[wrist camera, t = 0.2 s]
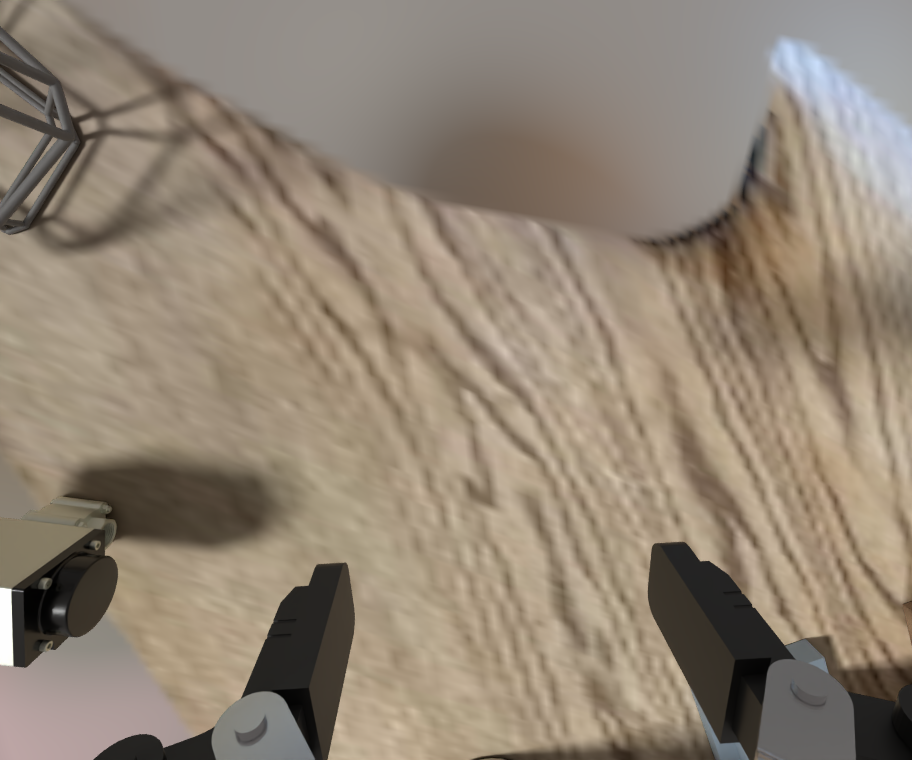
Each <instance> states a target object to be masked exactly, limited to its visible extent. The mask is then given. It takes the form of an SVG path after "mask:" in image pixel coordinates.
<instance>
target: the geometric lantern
mask: <svg viewBox="0 0 912 760" xmlns="http://www.w3.org/2000/svg"><path fill="white" fill-rule="evenodd" d="M0 41H2V42H3V43H4V44H5V45H6V46H7V47H8V48H9V49H10V50H11V51H13V52H14V53H15V54H16V55H17V56H18V57H19V58H20V59H21V60H22V61H24V62H25V63H24V62H22V61H20V60H18V59H16V58H13V57H11V56H9V55H7V54H5V53H3V52H1V51H0V64H1V65H3V66H6V67H8V68H10V69H12V70H15V71H17V72H19V73H22V74H24V75H26V76H28V77H31V78H33V79H35V80H37V81H40V82H42V83H44V84H46V85H49V91H48V96H47V100H46V101H44V100H43V99H42V98H40V97H39V96H38V95H36V94H35V93H34V92H32V91H31V90H30V89H28V88H27V87H26V86H25V85H23V84H22V83H21V82H19V81H18V80H17V79H15V78H14V77H13V76H11V75H10V74H9V73H7V72H6V71H5V70H4V69H2V68H1V67H0V82H1V83H3V84H4V85H5V86H7V87H8V88H9V89H11V90H12V91H13V92H15V93H16V94H17V95H19V96H20V97H21V98H23V99H24V100H25V101H27V102H28V103H29V104H31V105H32V106H33V107H35V108H36V109H37V110H39V111H40V112H41V113H43V114H44V115H45V117H46V121H47V123H45V122H43V121H41V120H38V119H36V118H33V117H31V116H29V115H26V114H24V113H21V112H19V111H17V110H14V109H12V108H9V107H7V106H5V105H2V104H0V116H1V117H4V118H6V119H9V120H11V121H14V122H16V123H19V124H22V125H24V126H27V127H29V128H32V129H34V130H37V131H40V132H42V133H45V134H44V136H43V137H42V139H41V141H40V142H39V144H38V145H37V147H36V148H35V150H34V151H33V153H32V155H31V156H30V158H29V159H28V161H27V162H26V164H25V165H24V167H23V169H22V170H21V172H20V173H19V175H18V176H17V178H16V179H15V181H14V182H13V184H12V186H11V187H10V189H9V190H8V192H7V193H6V195H5V196H4V198H3V200H2V201H1V203H0V231H2V232H4V233H6V234H8V235H11V234H14V233H16V232H19V231H22V230H25V229H28V228H29V227H30V224H31V223H32V221H33V219H34V218H35V216H36V214H37V213H38V211H39V210H40V208H41V206H42V205H43V203H44V202H45V200H46V198H47V197H48V195H49V194H50V192H51V190H52V189H53V187H54V185H55V184H56V182H57V181H58V179H59V177H60V176H61V174H62V173H63V171H64V169H65V168H66V166H67V164H68V163H69V161H70V160H71V158H72V156H73V155H74V153H75V152H76V150H77V148H78V147H79V144H80V143H81V142H80V139H79V137H78V135H77V133H76V131H75V129H74V127H73V123H72V120H71V116H70V113H69V109H68V106H67V102H66V98H65V95H64V92H63V89H62V86H61V83H60V81H59V80H58V79H57V78H56V77H55V76H54V75H53V74H52V73H51V72H50V71H49V70H47V69H46V68H45V67H44V66H43V65H42V64H41V63H40V62H39V61H38V60H36V59H35V58H34V57H33V56H32V55H31V54H30V53H29V52H28V51H27V50H26V49H24V48H23V47H22V46H21V45H20V44H19V43H18V42H17V41H16V40H15V39H13V38H12V37H11V36H10V35H9V34H8V33H7V32H6V31H5V30H4V29H3V28H1V27H0ZM54 104H55V106H56V109H57V110H56V109H55V108H54ZM54 118H55V119H57V120H60V123H61V127H62V129H60V128H57V127H56V125H55V121H54ZM53 137H55V138H57V139H58V140H57V141H56V142H55V143H54V144H53V146H52V147H51V148H50V149H49V150H48V152H47V153H46V154H45V155H44V157H43V158H42V159H41V160H40V161H39V163H38V164H37V165H36V166H35V167H34V165H35V164H36V162H37V161H38V159H39V158H40V156H41V155H42V153H43V151H44V150H45V148H46V147H47V145H48V144H49V142H50V141H51V139H52V138H53ZM68 147H69V148H68ZM67 148H68V149H67ZM66 149H67V151H66ZM65 151H66V153H65V154H64V156H63V157H62V159H61V161H60V162H59V164H58V166H57V167H56V169H55V170H54V172H53V174H52V175H51V177H50V179H49V180H48V182H47V183H46V185H45V187H44V188H43V190H42V192H41V193H40V195H39V196H38V198H37V200H36V201H35V203H34V205H33V206H32V208H31V209H30V211H29V213H28V214H27V216H26V218H25V219H24V221H23V222H22V221H18V220H11V219H9V218H10V217H11V216H12V215H13V213H14V212H15V211H16V210H17V209H18V207H19V206H20V205H21V204H22V203H23V201H24V200H25V199H26V198H27V197H28V195H29V194H30V193H31V192H32V190H33V189H34V188H35V187H36V186H37V184H38V183H39V182H40V181H41V180H42V178H43V177H44V176H45V175H46V174H47V172H48V171H49V170H50V169H51V168H52V166H53V165H54V164H55V163H56V162H57V160H58V159H59V158H60V157H61V155H62V154H63V153H64V152H65ZM33 167H34V169H33V170H32V168H33ZM31 170H32V171H31ZM29 173H30V174H29ZM5 225H10V226H14V227H11V228H9V229H8V228H7V227H6V226H5Z"/></svg>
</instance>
